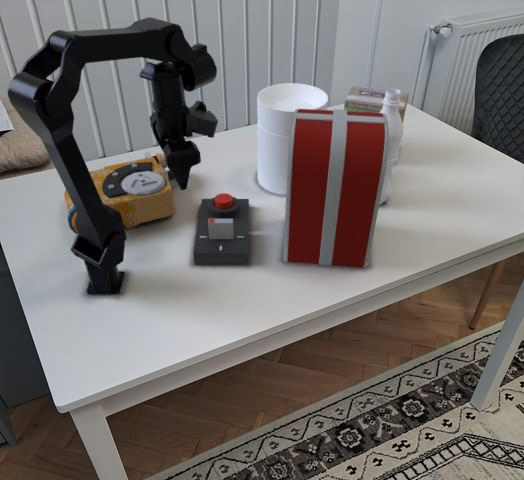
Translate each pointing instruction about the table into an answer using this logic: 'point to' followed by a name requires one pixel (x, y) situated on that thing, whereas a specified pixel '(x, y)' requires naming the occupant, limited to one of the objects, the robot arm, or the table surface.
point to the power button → (223, 201)
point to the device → (133, 190)
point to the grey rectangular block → (220, 228)
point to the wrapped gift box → (334, 185)
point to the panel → (221, 247)
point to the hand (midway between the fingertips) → (178, 178)
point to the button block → (225, 211)
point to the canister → (280, 128)
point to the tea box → (371, 101)
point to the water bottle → (391, 136)
